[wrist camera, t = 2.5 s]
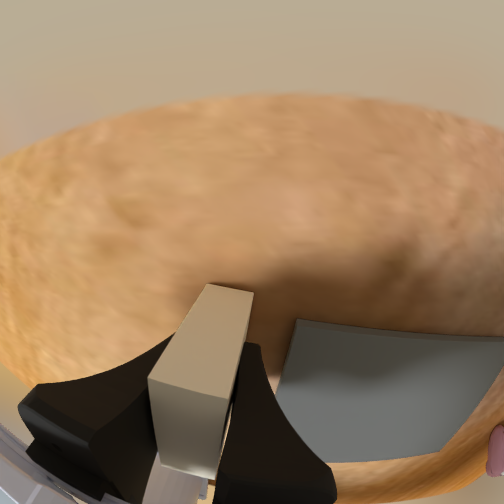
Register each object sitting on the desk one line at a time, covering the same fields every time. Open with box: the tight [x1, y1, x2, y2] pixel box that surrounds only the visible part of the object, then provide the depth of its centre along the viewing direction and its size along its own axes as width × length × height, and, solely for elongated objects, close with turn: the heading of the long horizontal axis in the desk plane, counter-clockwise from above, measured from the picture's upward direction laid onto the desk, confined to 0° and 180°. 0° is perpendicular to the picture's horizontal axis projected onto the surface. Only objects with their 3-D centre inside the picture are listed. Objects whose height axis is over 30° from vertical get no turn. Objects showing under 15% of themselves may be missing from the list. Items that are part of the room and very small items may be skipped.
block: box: [147, 284, 254, 480], centre depth 9 cm, size 5×2×6 cm, turn 171°
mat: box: [275, 318, 504, 463], centre depth 13 cm, size 11×15×1 cm
